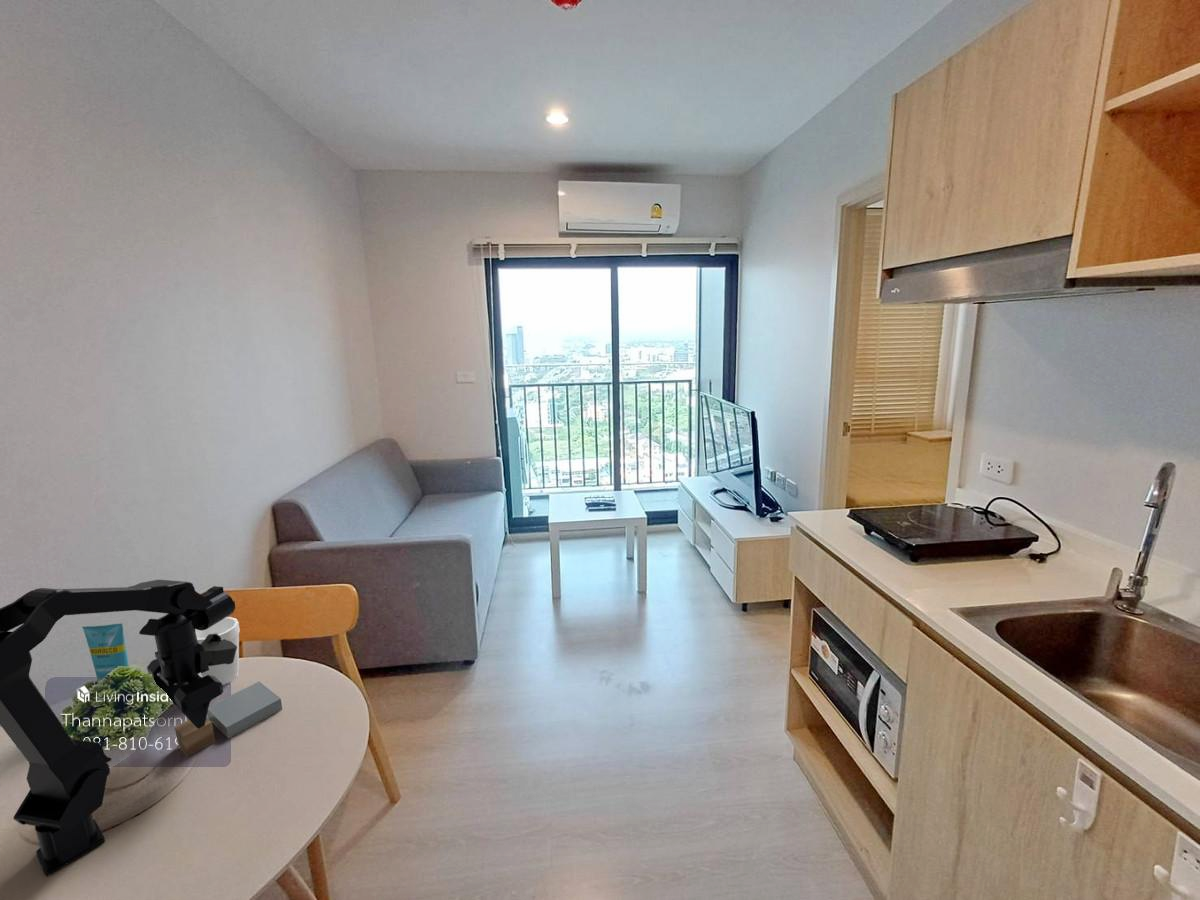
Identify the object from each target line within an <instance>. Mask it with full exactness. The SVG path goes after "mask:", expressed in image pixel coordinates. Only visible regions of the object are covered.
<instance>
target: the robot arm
mask: <svg viewBox="0 0 1200 900" xmlns="http://www.w3.org/2000/svg"><path fill="white" fill-rule="evenodd" d="M235 609H236V603H235V601H234V600H233V598H232V597H231V595H229V594H228V593H227V592H226V591H225V590H224V587H223V586H215V585H214V586H212V587H210V588H208V589H207V590H206V591H204V592H202V593H199V592H197V591H196V589H195V586H194V583H192V582H190V581H180V580H168V579H167V580H166V579H154V580H149V581H143V582H139V583H137V584H135V585H131V586H126V587H125V586H123V587H121V586H120V587H92V588H91V587H90V588H89V587H88V588H87V587H85V588H50V587H49V588H47V587H39V588H35V589H32V590H30V591H28V592H26V593H25V594H23V595H22V596H20V597H19V598H17V599H16V600H15V601H13V602H10V603H9V604H7V605H5V606H3V607H0V727H1V729H3V731H4V732H5V733H6V734H7V736H8V737H9V738H10V740H11V741H12V742H13V744H14V745H15V746H16V747H17V749H18V750H19V751H20V753H21V754H22V755H23V757H24V758H25V760H27V762H28V765H29V767H28V770H27V775H26V781H27V784H28V787H29V791H28V792H27V794H26V795H25V797H24V799H23V801H22V802H21V804H20V806H19V807H18V808H17V810H16V812H15V814H14V815H13V820H14V821H16V823H18V824H20V825H23V826H26V825H28V826H33V827H34V830H35V835H36V837H37V840H38V844H39V847H40V848H38V849H37V850H36V851H35V854H36V857H37V858H38V861H39V864H40V866H41V868H42V871H43V874H44V876H45V877H47V876H50V875H52V874H53V873H55V872H57V871H59V870H60V869H62V868H64V867H65V866H68V865H70V864H71V863H72V862H74V861H76V860H77V859H79V858H81V857H82V856H84V855H86V854H88V853H89V852H90V851H92V850H94V849H96V848H97V847H100V846H101V845H102V844H104V843H105V842H106V839H105V838H106V837H105V836H104V834H103V832H102V830H101V828H100V827H99V825H98V823H97V821H96V820H95V818H94V816H93V813H94V812H95V811H97V810H98V809H100V807H102V805H103V802H104V796H105V791H106V786H107V779H108V776H109V775H110V774H111V768H110V765H109V764H108V763H109V762H111V761H112V758H111V757H108V756H107V755H106V753H105V751H104V749H103V746H102V745H101V743H100V742H97V741H89V740H81V739H72V737H71V735H70V734H69V732H68V731H67V730H66V728H65V727H64V726H63V724H62V723H61V721H60V719H59V718H58V717H57V716H56V713H55V712H54V711H53V709H52V708H51V707H50V705H49V704H48V702H47V700H46V699H45V698H44V696H43V695H42V693H41V692H40V691H39V689H38V687H37V686H36V684H35V683H34V682H33V680H32V678H31V677H30V671H31V668H32V662H33V657H32V653H31V651H32V650H33V649H34V648H36V647H37V646H38V645H40V644H41V643H42V642H43V641H44V640H45V639H46V638H47V637H48V635H49V633H50V632H51V630H52V629H53V628H54V626H55V625H56V623H57V622H58V621H59V620H60V619H61V618H63V617H64V616H74V615H75V616H76V615H87V614H89V615H90V614H91V615H92V614H103V613H114V612H115V613H116V612H129V611H137V612H147V613H158V614H159V613H160V614H165V615H163V616H161V617H159V618H149V619H148V620H147V623H146V624H144V625H143V626H142V628H141V629H140V630H139V635H143V636H153V637H154V639H155V645H156V650H157V651H155V652H154V657H155V659H152V660H151V661H150V663H149V664H148V665H147V666H146V669H147V674H152V677H153V679H154V680H155V682H156V684H157V685H158V686H159V687H160V688H162V689H163V690H164V691H165V692H166V693H167V695H168V696H169V698H170V699H171V700H170V699H169V698H168V699H169V700H170V701H171V702H172V703H173V704H174V705H175V706H176V707H177V709H178V710H179V711H181V713H182V714H183V715H184V717H186V718H187V720H190V721H191V722H192V723H193V724H194V725H195V726H196V727H197V728H198V729H199V728H201V727H203V726H204V725H205V722H206V717H207V718H208V716H207V712H208V707H209V706H210V705H211V702H212V700H214V699H216V698H217V697H220V696H222V694H223V693H224V687H223V686H224V685H222V683H221V682H220V681H219V680H218V679H217V678H216V677H214V676H210V675H207V676H204V677H202V676H200V675H199V674H201V673H203V672H206V671H208V670H209V666H214V665H220V664H231V663H233V661H234V657H235V653H236V649H237V646H236V645H235V644H233V643H232V642H231V641H227V640H225V639H223V641H222V640H221V637H220V636H219V635H218V634H209V635H208V636H207V637H206V639H205V640H204V641H203V642H202V644H199V643H198V641H197V636H196V631H195V629H197V630H201V631H202V630H206V629H208V628H209V627H211V626H213V625H214V624H216V623H218V622H219V621H221V620H223V619H224V618H226V617H230V616H231V615H232V614H233V613H234V612H235ZM17 627H18V628H17ZM11 630H13V631H11ZM156 684H155V685H156ZM157 685H156V686H157ZM158 686H157V687H158ZM159 687H158V688H159ZM160 688H159V689H160Z"/></svg>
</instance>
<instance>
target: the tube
mask: <svg viewBox="0 0 1200 900" xmlns="http://www.w3.org/2000/svg"><path fill="white" fill-rule="evenodd" d="M81 627H82V630H83V633H84V635H85V639H86V643H87V647H88V651H89V653H90V658H91V661H92V664H93V668H94V672H95V676H96V680H97V682H98V681H100V680H102V679H103V678H104V677H105V676H106V675H107V674H108V673H110V672H111V671H112V670H114V669H115V668H117V667H118V666H129V667H130V664H129V659H128V653H127V647H126V642H125V633H124V625H123V623H122V622H120V623H110V624H103V625H85V626H84V625H82V626H81Z"/></svg>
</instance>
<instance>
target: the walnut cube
mask: <svg viewBox="0 0 1200 900" xmlns="http://www.w3.org/2000/svg"><path fill="white" fill-rule="evenodd" d="M174 731H175V736H176V741H177V746H178V748H179V749H180V751H182V753H183V754H184V755H185V756H186V757H189V756H191V755H194V754H195V753H197V752H199V751H201V750H203V749H205V748H206V747H208V746H210V745H212V744H214V743H215V742H216V738H215V733H214V726H213V723H212V722H211V721H210V720H209V719H208V716H207V717H206V722H205V725H204V726H203V727H201V728H199V729H198V728H197V727H196V726H195V725H194V724H193V723H192V722H191V721H190V720H189V719H186V720H185V721H184V722H182V723H180V724H177V725H176V726H174Z"/></svg>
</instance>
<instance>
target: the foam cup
mask: <svg viewBox="0 0 1200 900" xmlns="http://www.w3.org/2000/svg"><path fill="white" fill-rule="evenodd" d="M195 631H196V636H197V641H198V643H199V644H202V642H203V641H204V640H205V639H206V637H207V636H208V635H209V634H218V635H219V636H220V637H221V640H222V641H223V639H225V640H227V641H231V642H232V643H233V644H235V645H236V646H237V649H236V653H235V657H234V661H233V663H231V664H220V665H214V666H209V670H208V671H206V672H203V673H200V674H201V678H202V677H204V676H207V675H210V676H214V677H216V678H217V679H218V680H219V681H220V682H221V683H222V686H225V685H227V684H229V683H231V682H233V681H235V679H236V678H238V675H239V666H240V665H239V662H240V660H239V659H240V654H239V653H240V632H241V629H240V622H239V621H238V619H237V618H234V617H232V616H228V617H226V618H224V619H223V620H221V621H219V622H218V623H216V624H214V625H213V626H211V627H209V628H208V629H206V630H202V631H201V630H197V629H195Z"/></svg>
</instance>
